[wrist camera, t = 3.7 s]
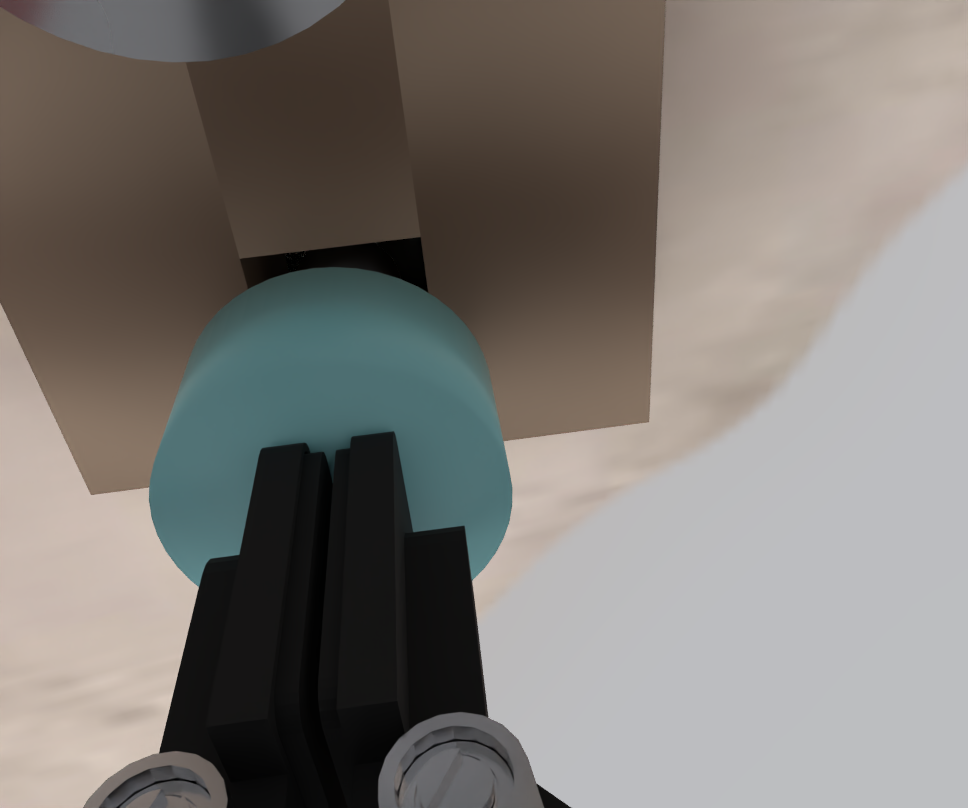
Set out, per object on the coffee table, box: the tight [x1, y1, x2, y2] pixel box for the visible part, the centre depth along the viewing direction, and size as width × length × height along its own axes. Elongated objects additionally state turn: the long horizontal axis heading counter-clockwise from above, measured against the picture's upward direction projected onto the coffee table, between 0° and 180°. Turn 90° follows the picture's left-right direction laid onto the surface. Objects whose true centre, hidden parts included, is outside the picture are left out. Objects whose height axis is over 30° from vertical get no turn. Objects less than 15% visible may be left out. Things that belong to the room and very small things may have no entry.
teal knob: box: [149, 243, 512, 586], centre depth 14 cm, size 5×5×6 cm
